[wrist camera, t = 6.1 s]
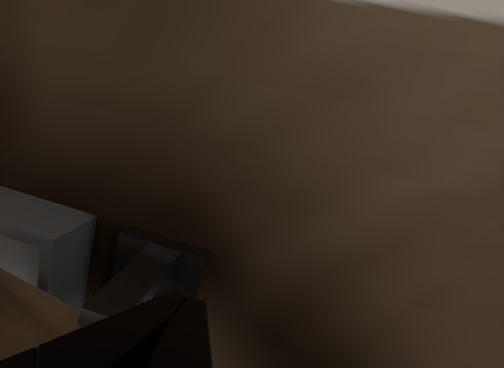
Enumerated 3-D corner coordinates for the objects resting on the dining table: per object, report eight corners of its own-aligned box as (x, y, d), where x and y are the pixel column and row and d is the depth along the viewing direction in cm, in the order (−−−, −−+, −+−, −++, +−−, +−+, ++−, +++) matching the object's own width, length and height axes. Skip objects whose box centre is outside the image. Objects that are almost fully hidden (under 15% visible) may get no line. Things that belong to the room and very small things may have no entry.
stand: (172, 405, 24) (118, 526, 17) (100, 380, 25) (20, 488, 18) (210, 252, 21) (162, 325, 15) (127, 226, 22) (44, 286, 15)
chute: (263, 514, 18) (207, 682, 13) (0, 348, 23) (-119, 418, 18) (344, 290, 15) (313, 389, 9) (17, 155, 20) (-122, 170, 15)
